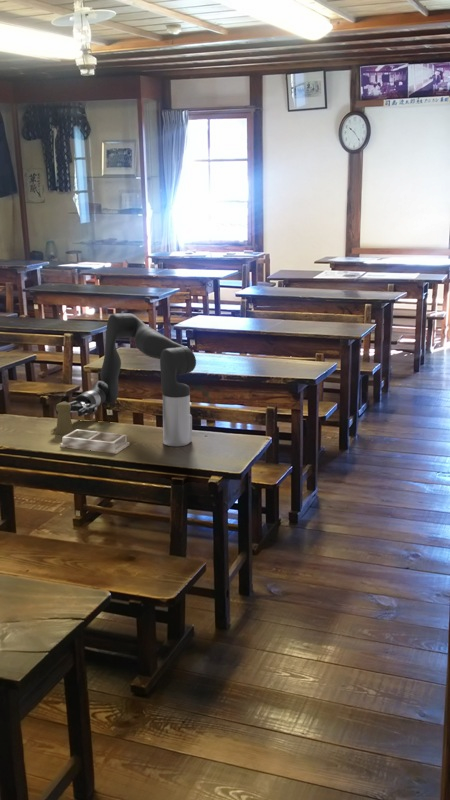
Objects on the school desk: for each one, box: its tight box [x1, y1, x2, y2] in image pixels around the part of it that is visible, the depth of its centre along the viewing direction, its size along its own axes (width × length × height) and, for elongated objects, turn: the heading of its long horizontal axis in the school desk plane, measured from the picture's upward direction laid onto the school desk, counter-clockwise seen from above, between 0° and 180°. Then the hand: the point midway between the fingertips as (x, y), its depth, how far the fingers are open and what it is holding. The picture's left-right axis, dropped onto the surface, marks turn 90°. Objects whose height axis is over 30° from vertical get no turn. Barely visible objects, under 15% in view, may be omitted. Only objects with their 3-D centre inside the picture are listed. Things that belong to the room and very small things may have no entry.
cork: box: [55, 401, 74, 436], centre depth 281 cm, size 6×6×11 cm
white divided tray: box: [59, 429, 130, 455], centre depth 267 cm, size 21×10×4 cm, turn 72°
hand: (68, 412), depth 284 cm, fingers open, 8 cm apart
